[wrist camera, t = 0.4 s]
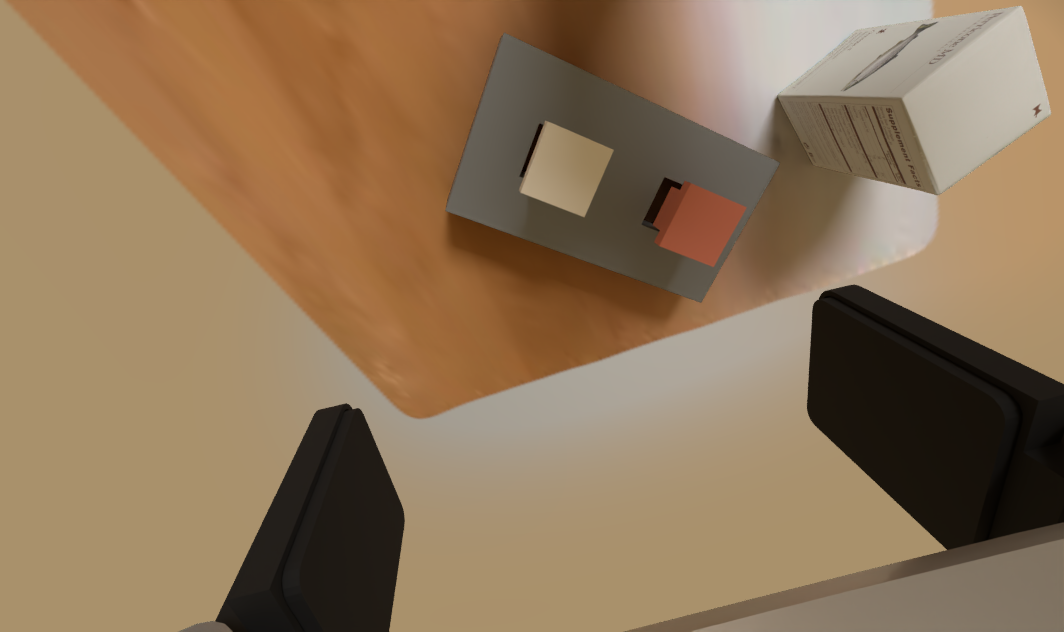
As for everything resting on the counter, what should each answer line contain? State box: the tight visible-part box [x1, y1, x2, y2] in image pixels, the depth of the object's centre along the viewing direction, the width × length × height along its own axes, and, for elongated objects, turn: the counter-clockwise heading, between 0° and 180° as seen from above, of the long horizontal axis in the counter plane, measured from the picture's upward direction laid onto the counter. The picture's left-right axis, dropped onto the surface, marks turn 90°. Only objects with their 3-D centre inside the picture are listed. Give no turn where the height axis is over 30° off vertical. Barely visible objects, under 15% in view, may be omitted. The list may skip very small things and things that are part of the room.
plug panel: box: [445, 33, 780, 303], centre depth 37 cm, size 12×22×4 cm, turn 68°
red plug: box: [653, 181, 747, 267], centre depth 34 cm, size 4×4×4 cm
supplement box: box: [777, 6, 1051, 195], centre depth 33 cm, size 7×7×13 cm
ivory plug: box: [519, 120, 614, 217], centre depth 32 cm, size 4×4×4 cm
